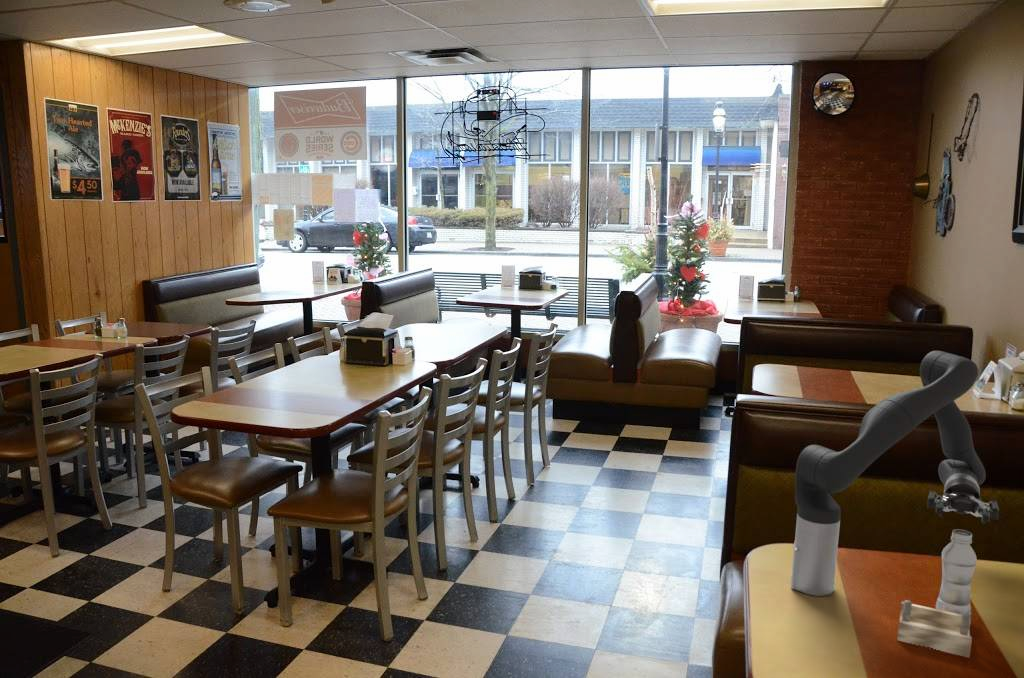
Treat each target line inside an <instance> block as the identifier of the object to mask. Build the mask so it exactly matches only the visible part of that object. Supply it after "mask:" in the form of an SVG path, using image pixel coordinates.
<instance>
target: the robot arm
mask: <svg viewBox="0 0 1024 678" xmlns="http://www.w3.org/2000/svg"><path fill="white" fill-rule="evenodd" d="M919 375H920V380H921V383H922V387H918V388H916V389H910V390H907V391H903V392H902V391H901V392H899V393H894V394H892V395H889V396H888V397H885V398H884V399H882V400H881V401H880V402H878V403H877V404H876V405H874V406H873V407H872V408H870V409H869V410H868V411H867V412H866V413H865V415H864V416H863V418H862V419H861V420H862V421H861V424H860V428H859V433H858V436H857V438H856V439H855V440H854V441H853V442H852V443H851V444H850V445H849V446H848V447H846V448H844V449H843V450H840V451H836V450H833V449H830V448H828V447H825V446H822V445H819V444H810V445H808V446H806V447H805V448H803V449H802V451H801V452H800V453H799V456H798V458H797V461H796V466H795V467H796V468H795V484H794V487H795V488H794V489H795V490H794V498H795V499H794V501H795V505H796V507H797V512H796V525H795V535H794V538H795V539H794V542H793V552H792V561H791V562H792V563H791V564H792V566H791V576H790V581H791V582H790V583H791V584H790V585H791V587H790V589H792V590H796V591H799V592H801V593H803V594H806V595H811V596H818V597H820V596H823V597H824V596H829V595H831V594H833V593H834V588H835V579H836V578H835V577H836V571H837V568H836V567H837V557H838V548H839V547H838V546H839V536H840V527H841V526H840V525H841V513H842V510H841V506H840V505H839V504H838V503H837V502H836V501H835V499H834V498H833V497H832V496H831V494H838V493H840V492H843V491H844V490H846V489H847V488H849V487H850V485H851V484H853V482H855V481H856V480H857V478H859V476H861V474H862V473H864V472H865V470H866V469H867V468H868V467H869V466H870V465H872V463H874V462H875V461H876V460H877V459H878V458H879V457H881V456H882V455H883V454H884V453H885V452H887V450H889V449H890V448H891V447H893V446H894V445H895V444H896V443H898V442H899V441H901V440H902V439H903V438H904V437H905V438H906V436H907V435H908V434H909V433H911V432H912V431H913V430H915V428H917V427H918V426H919V425H920V424H922V423H923V422H924V421H926V420H927V419H928V418H929V417H931V416H933V415H934V418H935V419H936V422H937V427H938V432H939V437H940V444H941V449H942V453H943V455H944V456H945V457H946V458H947V459H944V460H942V461H940V463H939V465H938V470H937V471H938V476H939V477H938V478H939V480H940V481H941V483H942V485H943V486H944V488H943V494H942V495H939V494H938V493H936V491H935V490H929V494H928V497H927V503H926V508H927V509H928V510H932V509H933V508H934V510H935V514H937V515H938V517H943V512H946V513H947V512H948V513H949V512H951V511H953V512H955V513H956V514H962V515H967V514H970V515H972V516H974V517H976V518H980V517H981V523H982V524H984V525H985V524H987V523H989V522H990V519H991V520H994V521H995V520H996V521H998V520H999V511H1000V508H999V505H998V502H997V500H990V501H989V502H984V501H983V500H982V499H981V491H980V486H981V485H982V484H983V483H984V482H985V480H986V478H987V477H986V476H987V473H986V470H985V466H984V464H983V462H982V461H981V459H980V457H979V456H978V454H977V452H976V450H975V447H974V440H973V435H972V428H971V425H970V424H969V421H968V420H967V417H966V416H965V414H963V412H962V410H961V409H960V407H959V405H957V403H956V402H955V400H957V399H958V398H959V399H960V398H961V397H962V396H963V395H964V394H966V393H967V392H969V390H970V389H972V387H974V384H975V383H976V382H977V378H978V376H979V368H978V365H977V364H976V363H975V361H973V360H971V359H969V358H967V357H964V356H962V355H961V356H959V355H956V354H953V353H950V352H946V351H943V350H942V351H941V350H932V351H930V352H928V353H927V354H926V355H925V356H924V358H923V359H922V360H921V363H920V366H919Z"/></svg>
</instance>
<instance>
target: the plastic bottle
mask: <svg viewBox="0 0 1024 678" xmlns="http://www.w3.org/2000/svg"><path fill="white" fill-rule="evenodd" d="M972 543H973V533H972V532H970V531H968V530H965V529H961V528H960V529H957V528H956V529H953V530H952V533H951V536H950V542H949V543H948V544H947V545H946V546H945V547H943V549H942V551H941V569H942V570H941V571H942V572H941V585H940V589H939V595H938V596H937V599H936V603H935V609H938V610H943V611H947V612H952V613H956V614H961V615H962V613H967V614H969V615H970V616H971V615H972V607H971V605H972V604H971V586H972V584H971V583H972V582H973V581H972V579H973V575H974V572H975V568H976V565H977V561H978V559H977V555H976V552H975V550H974V549H973V548H972V546H971V544H972Z"/></svg>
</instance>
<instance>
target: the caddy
mask: <svg viewBox="0 0 1024 678" xmlns="http://www.w3.org/2000/svg"><path fill="white" fill-rule="evenodd" d="M898 620H899V621H898V627H897V628H898V629H897V637H896V640H897V641H898V642H902V643H907V644H910V643H911V644H912V645H914V644H915V645H916V646H919V645H920V646H919V647H923V646H925V647H924V648H927V647H930V648H929V649H931V648H933V649H932V650H935V649H936V651H939V650H940V652H944V653H948V654H952V655H955V656H961V657H963V658H968V659H969V658H970V656H971V649H972V641H973V637H972V636H971V635H970V634H971V632H970V631H971V623H972V622H971V621H972V616H971V615H969V614H967V613H962V615H961V614H956V613H952V612H947V611H943V610H938V609H936V608H933V607H929V606H924V605H920V604H915V603H913V601H911V600H909V599H904V600H903V601H901V605H900V613H899V619H898ZM911 644H910V645H911Z"/></svg>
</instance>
